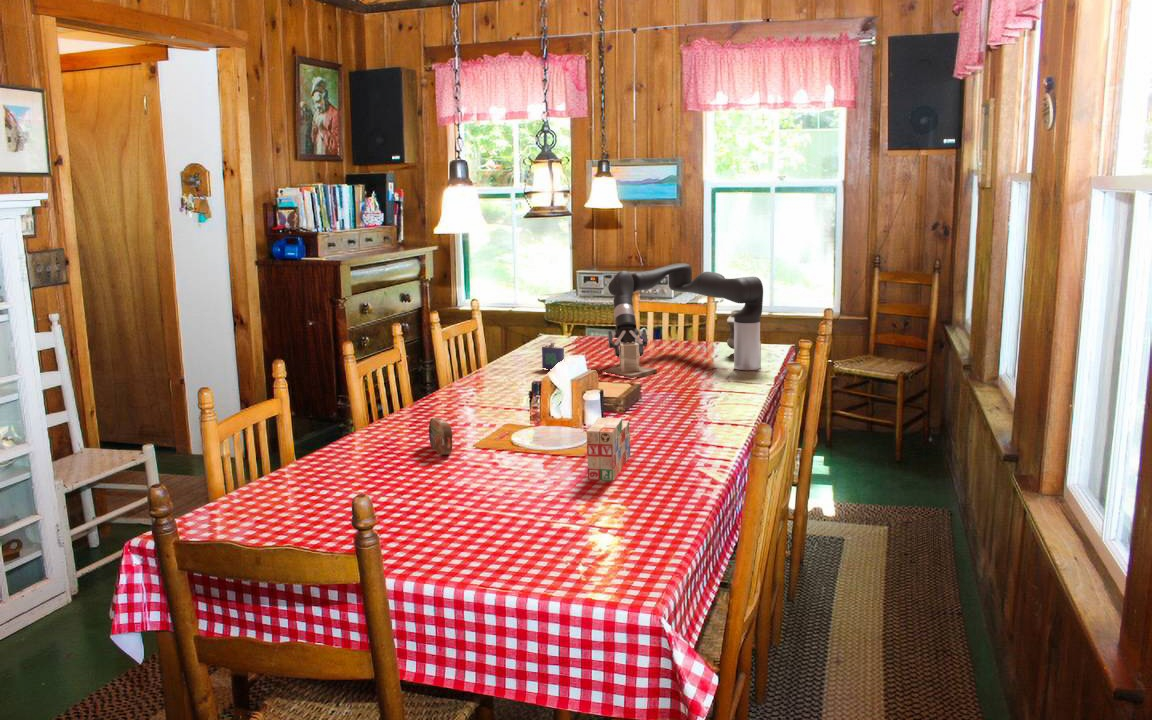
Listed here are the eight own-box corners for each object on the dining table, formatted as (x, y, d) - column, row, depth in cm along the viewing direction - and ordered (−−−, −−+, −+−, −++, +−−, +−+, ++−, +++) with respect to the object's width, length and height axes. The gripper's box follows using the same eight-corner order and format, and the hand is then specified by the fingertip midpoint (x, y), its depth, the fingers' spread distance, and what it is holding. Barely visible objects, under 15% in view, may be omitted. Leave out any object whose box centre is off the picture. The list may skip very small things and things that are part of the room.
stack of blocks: (606, 454, 241) (605, 408, 238) (630, 455, 239) (629, 408, 237) (587, 480, 220) (586, 430, 218) (613, 482, 219) (612, 431, 216)
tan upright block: (620, 368, 339) (619, 343, 337) (637, 368, 339) (637, 342, 338) (621, 371, 334) (621, 345, 333) (639, 370, 335) (638, 344, 333)
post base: (627, 368, 347) (627, 343, 345) (656, 373, 337) (656, 347, 335) (602, 374, 337) (601, 348, 335) (631, 379, 327) (631, 353, 326)
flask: (565, 370, 346) (564, 342, 344) (561, 372, 344) (560, 343, 342) (544, 369, 351) (543, 340, 349) (540, 370, 348) (539, 342, 346)
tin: (428, 445, 254) (426, 415, 252) (439, 443, 255) (438, 413, 253) (443, 459, 240) (441, 427, 239) (455, 457, 241) (453, 426, 240)
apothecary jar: (735, 352, 372) (735, 307, 368) (763, 355, 365) (764, 309, 361) (721, 357, 362) (721, 311, 359) (750, 360, 355) (750, 313, 352)
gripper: (643, 324, 347) (648, 360, 338) (605, 325, 346) (609, 362, 337) (645, 311, 341) (650, 348, 332) (606, 313, 340) (610, 350, 331)
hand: (629, 355), depth 334 cm, fingers open, 7 cm apart
